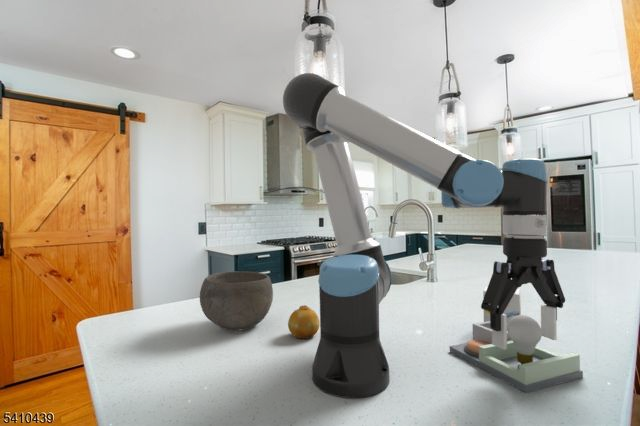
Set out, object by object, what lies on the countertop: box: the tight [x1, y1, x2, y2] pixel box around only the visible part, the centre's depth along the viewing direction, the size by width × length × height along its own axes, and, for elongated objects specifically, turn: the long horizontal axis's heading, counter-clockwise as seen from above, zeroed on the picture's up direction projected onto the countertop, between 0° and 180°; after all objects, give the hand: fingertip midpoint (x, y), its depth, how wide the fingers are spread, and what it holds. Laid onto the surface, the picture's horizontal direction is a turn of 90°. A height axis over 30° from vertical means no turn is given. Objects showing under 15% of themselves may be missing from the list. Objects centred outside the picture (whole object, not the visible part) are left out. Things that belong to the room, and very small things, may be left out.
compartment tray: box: [449, 321, 584, 393], centre depth 69 cm, size 15×19×6 cm
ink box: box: [482, 285, 522, 324], centre depth 87 cm, size 9×8×12 cm
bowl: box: [199, 270, 274, 331], centre depth 96 cm, size 21×21×15 cm
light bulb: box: [507, 314, 543, 364], centre depth 65 cm, size 6×6×10 cm
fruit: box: [287, 305, 320, 339], centre depth 87 cm, size 8×8×8 cm
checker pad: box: [466, 339, 491, 354], centre depth 72 cm, size 5×5×1 cm
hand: (524, 342), depth 65 cm, fingers open, 13 cm apart
